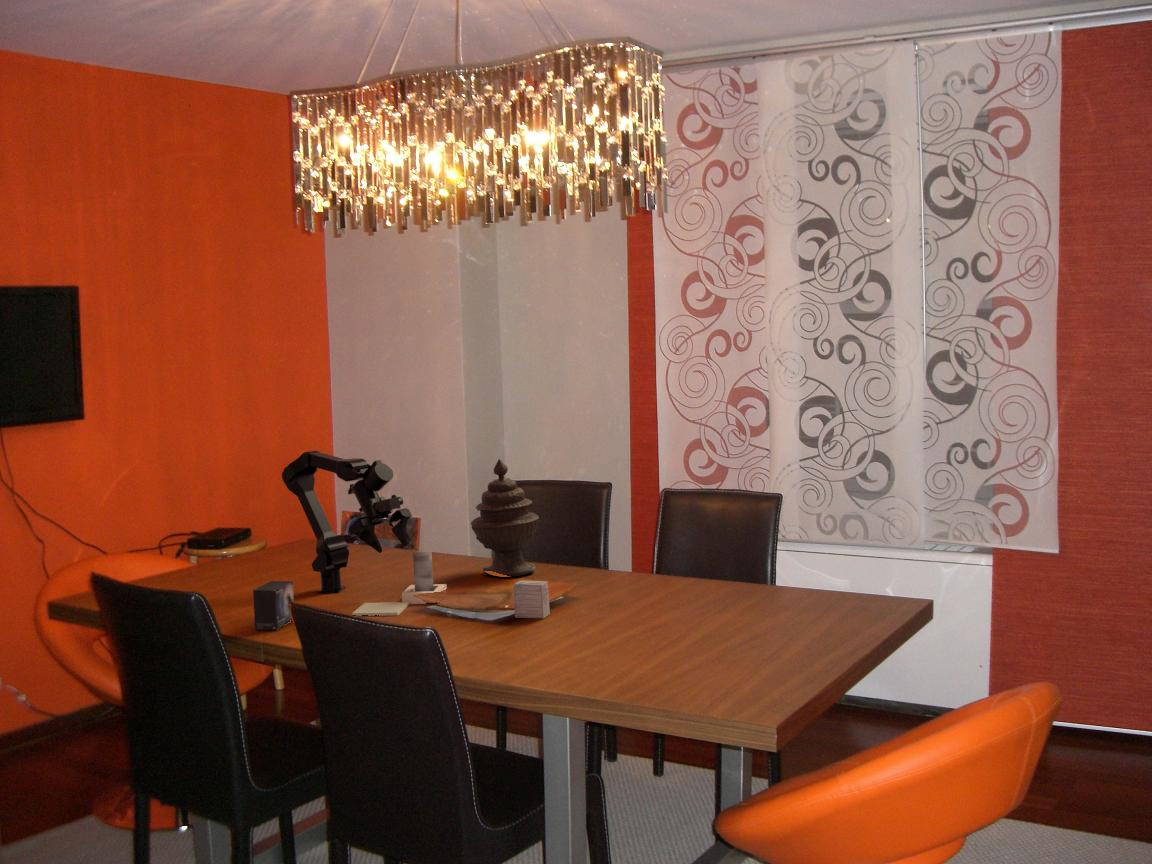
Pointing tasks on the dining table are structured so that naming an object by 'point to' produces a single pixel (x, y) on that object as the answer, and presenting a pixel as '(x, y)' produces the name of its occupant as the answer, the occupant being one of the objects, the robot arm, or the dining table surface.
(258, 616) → the small box
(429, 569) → the peg
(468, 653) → the dining table surface
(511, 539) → the decorative urn
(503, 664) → the dining table surface
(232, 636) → the dining table surface
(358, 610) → the pad
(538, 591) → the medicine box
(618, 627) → the dining table surface
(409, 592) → the pocket block
